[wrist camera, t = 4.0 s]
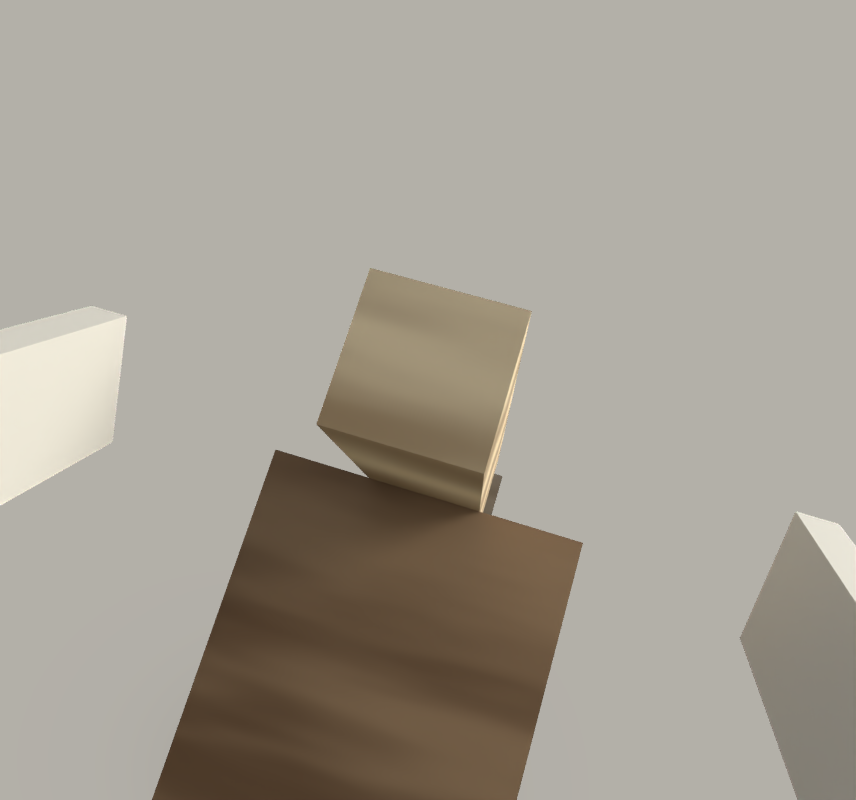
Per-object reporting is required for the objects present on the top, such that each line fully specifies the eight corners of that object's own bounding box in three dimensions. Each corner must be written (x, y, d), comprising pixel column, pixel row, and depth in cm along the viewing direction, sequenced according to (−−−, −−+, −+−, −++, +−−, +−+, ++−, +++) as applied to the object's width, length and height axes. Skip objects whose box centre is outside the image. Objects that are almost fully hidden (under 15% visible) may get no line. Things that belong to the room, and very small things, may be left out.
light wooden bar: (503, 479, 15) (550, 315, 16) (298, 419, 16) (352, 263, 16) (484, 537, 35) (505, 464, 36) (395, 510, 36) (417, 438, 37)
